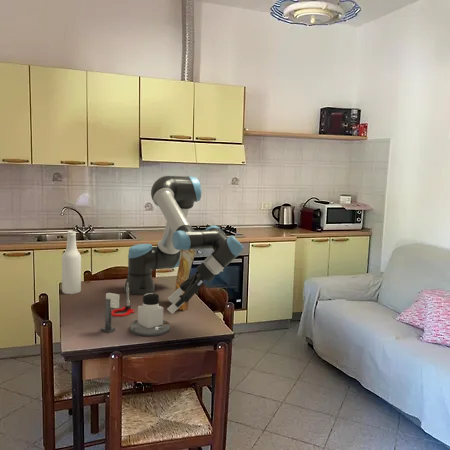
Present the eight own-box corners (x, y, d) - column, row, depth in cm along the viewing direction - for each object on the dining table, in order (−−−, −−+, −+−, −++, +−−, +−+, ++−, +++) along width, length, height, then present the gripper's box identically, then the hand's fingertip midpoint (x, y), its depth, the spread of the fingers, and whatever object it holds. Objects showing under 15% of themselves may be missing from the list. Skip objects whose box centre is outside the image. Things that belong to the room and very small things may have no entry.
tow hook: (119, 319, 194) (136, 313, 201) (118, 289, 192) (135, 284, 199) (106, 314, 199) (123, 309, 206) (105, 285, 197) (122, 280, 204)
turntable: (144, 320, 192) (144, 316, 191) (176, 326, 186) (176, 322, 186) (122, 332, 178) (122, 326, 178) (156, 339, 172) (156, 333, 172)
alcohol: (79, 294, 225) (79, 232, 221) (60, 294, 224) (60, 232, 220) (82, 289, 233) (82, 230, 230) (63, 289, 232) (63, 229, 228)
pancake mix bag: (185, 299, 224) (187, 241, 221) (194, 311, 206) (196, 249, 203) (171, 299, 223) (173, 242, 219) (179, 312, 204) (181, 249, 201)
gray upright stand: (107, 328, 181) (107, 291, 179) (120, 330, 179) (120, 294, 177) (100, 331, 177) (100, 294, 176) (113, 334, 175) (114, 296, 173)
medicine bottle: (163, 324, 182) (164, 295, 180) (148, 329, 177) (149, 298, 175) (152, 320, 187) (153, 290, 185) (137, 323, 181) (137, 293, 180)
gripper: (219, 283, 170) (176, 323, 170) (213, 268, 194) (176, 303, 194) (205, 268, 168) (162, 309, 168) (201, 255, 193) (163, 290, 193)
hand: (169, 306), depth 181 cm, fingers open, 13 cm apart
